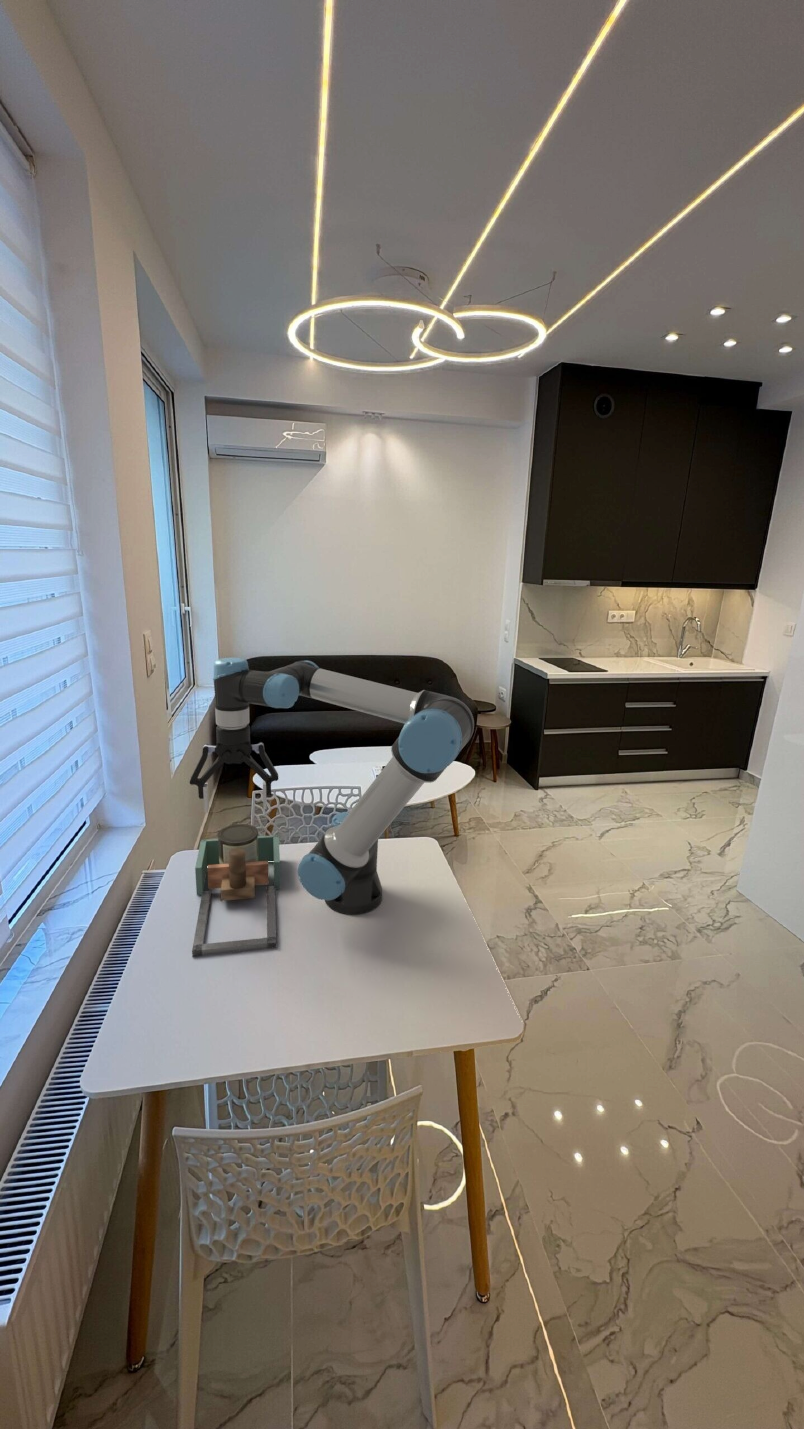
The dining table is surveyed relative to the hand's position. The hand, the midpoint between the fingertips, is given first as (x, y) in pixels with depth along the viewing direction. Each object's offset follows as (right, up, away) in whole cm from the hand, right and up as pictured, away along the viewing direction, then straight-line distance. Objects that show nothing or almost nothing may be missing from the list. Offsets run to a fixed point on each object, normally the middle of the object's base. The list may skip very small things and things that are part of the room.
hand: (236, 808), depth 142 cm
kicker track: (0, -27, 0) cm, 27 cm away
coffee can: (-4, -22, +17) cm, 28 cm away
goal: (-4, -21, +18) cm, 28 cm away
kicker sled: (-2, -22, +8) cm, 24 cm away
